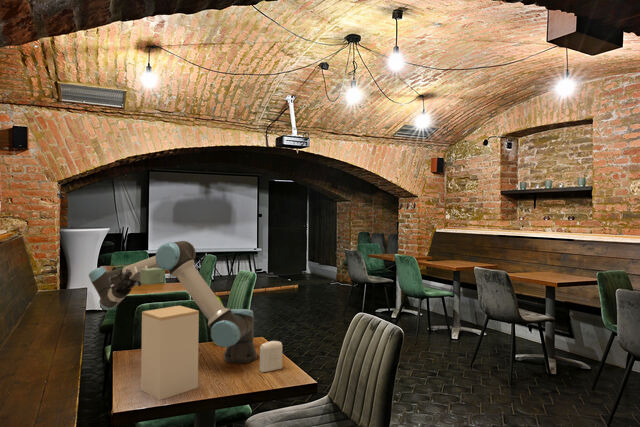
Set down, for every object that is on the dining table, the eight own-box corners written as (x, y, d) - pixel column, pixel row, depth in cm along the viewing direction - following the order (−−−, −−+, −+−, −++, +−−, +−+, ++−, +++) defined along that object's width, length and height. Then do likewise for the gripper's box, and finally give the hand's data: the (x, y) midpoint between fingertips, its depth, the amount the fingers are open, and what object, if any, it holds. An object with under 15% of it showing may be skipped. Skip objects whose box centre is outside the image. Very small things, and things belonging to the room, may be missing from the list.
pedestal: (197, 387, 173) (198, 310, 173) (159, 400, 162) (160, 317, 162) (178, 378, 183) (179, 305, 183) (141, 389, 171) (142, 311, 171)
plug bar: (163, 282, 183) (163, 269, 183) (147, 284, 177) (147, 270, 177) (138, 277, 197) (138, 264, 197) (122, 278, 192) (122, 265, 192)
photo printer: (279, 366, 199) (279, 338, 199) (283, 369, 195) (283, 340, 195) (258, 370, 193) (258, 342, 193) (262, 373, 190) (262, 344, 190)
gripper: (139, 296, 207) (162, 275, 193) (101, 301, 194) (123, 279, 180) (136, 281, 209) (158, 259, 196) (98, 285, 196) (119, 262, 183)
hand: (141, 269), depth 188 cm, fingers closed on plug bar, 4 cm apart
